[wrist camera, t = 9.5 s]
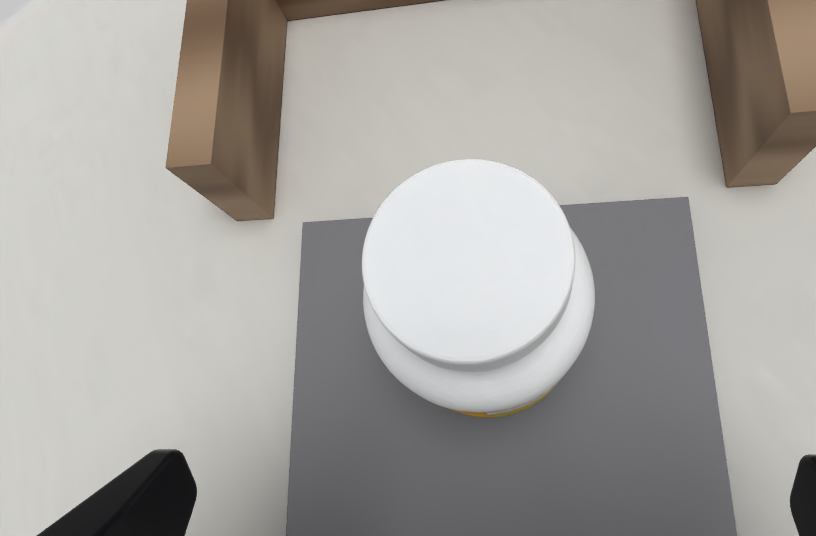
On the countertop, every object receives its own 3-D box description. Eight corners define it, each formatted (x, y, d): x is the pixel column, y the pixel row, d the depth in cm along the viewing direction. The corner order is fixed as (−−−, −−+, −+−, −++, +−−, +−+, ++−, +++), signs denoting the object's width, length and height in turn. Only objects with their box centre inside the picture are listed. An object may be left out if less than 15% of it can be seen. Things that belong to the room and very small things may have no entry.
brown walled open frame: (776, 183, 20) (879, 86, 14) (236, 220, 23) (146, 153, 18) (727, -71, 23) (797, -236, 17) (256, -5, 26) (184, -123, 21)
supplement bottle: (385, 310, 21) (279, 211, 11) (515, 235, 20) (515, 75, 11) (458, 448, 19) (403, 463, 10) (601, 368, 19) (683, 306, 10)
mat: (733, 559, 17) (741, 564, 17) (291, 543, 20) (285, 546, 19) (683, 203, 20) (688, 196, 20) (308, 227, 23) (302, 222, 22)
